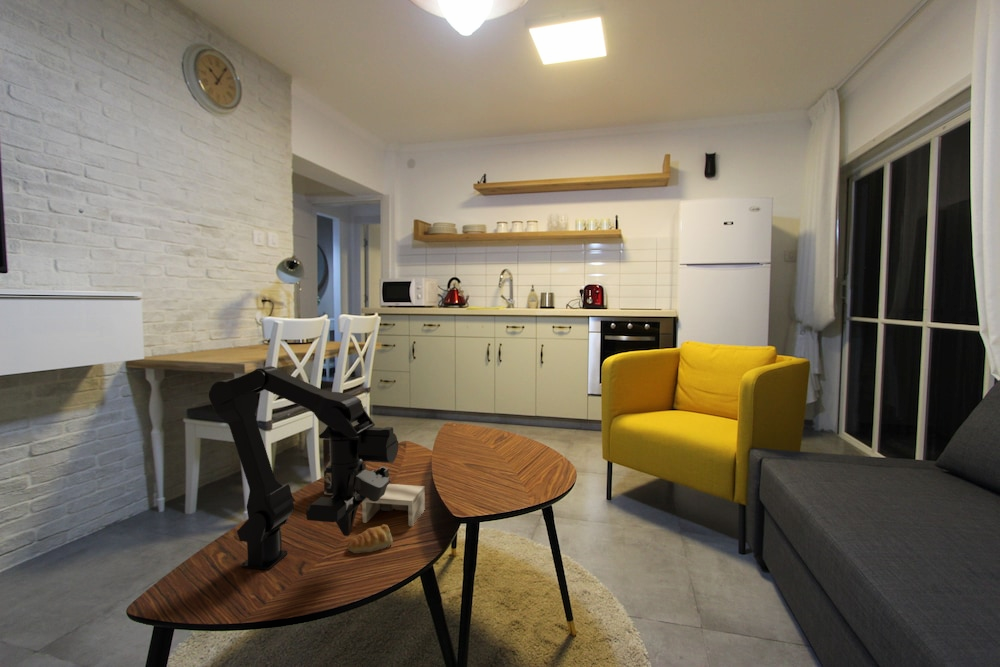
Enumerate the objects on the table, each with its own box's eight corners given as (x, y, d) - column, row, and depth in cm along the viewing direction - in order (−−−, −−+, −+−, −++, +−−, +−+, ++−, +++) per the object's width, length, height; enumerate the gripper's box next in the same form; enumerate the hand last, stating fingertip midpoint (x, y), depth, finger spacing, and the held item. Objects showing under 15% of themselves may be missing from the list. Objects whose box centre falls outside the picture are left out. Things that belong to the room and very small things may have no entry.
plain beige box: (412, 526, 109) (412, 500, 109) (362, 522, 111) (362, 497, 111) (424, 510, 118) (424, 486, 118) (378, 506, 120) (378, 483, 120)
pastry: (352, 560, 95) (352, 542, 95) (344, 546, 101) (343, 529, 101) (395, 546, 100) (394, 530, 100) (384, 534, 106) (384, 518, 106)
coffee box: (323, 495, 128) (321, 439, 127) (334, 486, 134) (333, 433, 133) (353, 496, 127) (352, 440, 126) (363, 487, 133) (362, 434, 132)
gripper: (360, 479, 80) (362, 564, 81) (401, 447, 98) (402, 516, 99) (303, 475, 82) (305, 558, 83) (353, 444, 100) (355, 513, 101)
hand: (347, 534), depth 91 cm, fingers closed
